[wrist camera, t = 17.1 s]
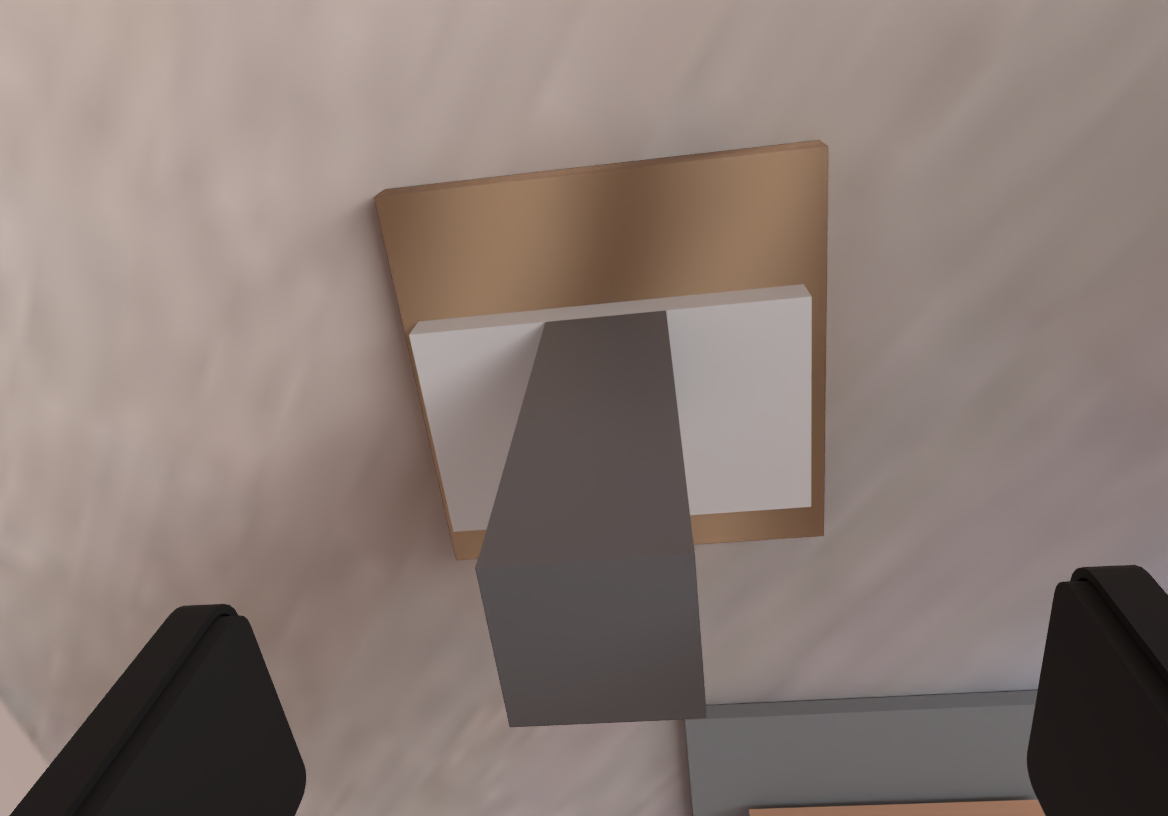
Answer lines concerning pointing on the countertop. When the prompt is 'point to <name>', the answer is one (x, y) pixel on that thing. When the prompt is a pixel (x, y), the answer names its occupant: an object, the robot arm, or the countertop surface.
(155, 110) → the countertop surface
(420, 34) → the countertop surface
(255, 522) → the countertop surface
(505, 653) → the white base with post
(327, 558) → the countertop surface
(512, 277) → the board
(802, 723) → the mat
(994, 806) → the block
